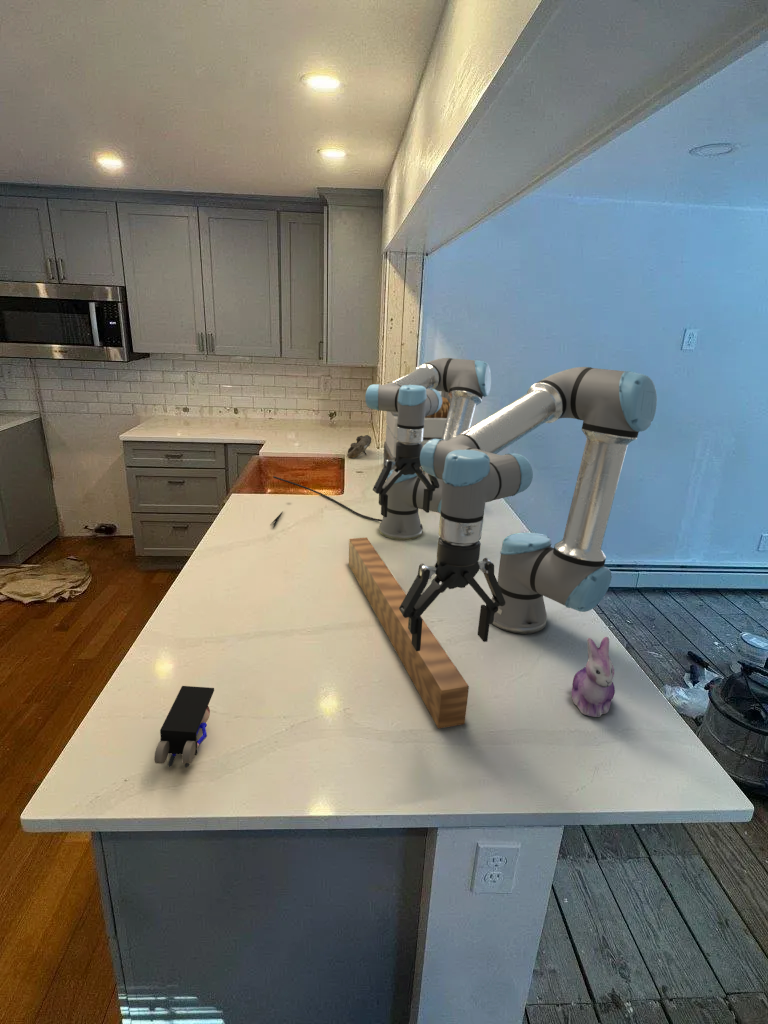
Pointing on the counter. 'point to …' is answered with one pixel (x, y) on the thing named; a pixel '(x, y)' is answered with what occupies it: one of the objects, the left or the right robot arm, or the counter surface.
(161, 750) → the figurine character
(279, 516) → the feather
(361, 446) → the fossil
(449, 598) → the counter surface
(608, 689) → the figurine
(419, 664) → the post
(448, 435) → the left robot arm
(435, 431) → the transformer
